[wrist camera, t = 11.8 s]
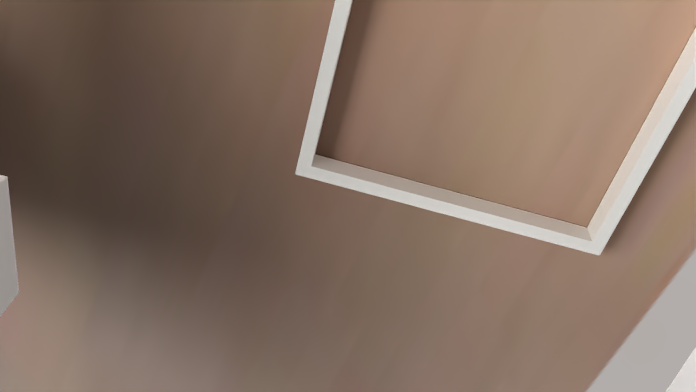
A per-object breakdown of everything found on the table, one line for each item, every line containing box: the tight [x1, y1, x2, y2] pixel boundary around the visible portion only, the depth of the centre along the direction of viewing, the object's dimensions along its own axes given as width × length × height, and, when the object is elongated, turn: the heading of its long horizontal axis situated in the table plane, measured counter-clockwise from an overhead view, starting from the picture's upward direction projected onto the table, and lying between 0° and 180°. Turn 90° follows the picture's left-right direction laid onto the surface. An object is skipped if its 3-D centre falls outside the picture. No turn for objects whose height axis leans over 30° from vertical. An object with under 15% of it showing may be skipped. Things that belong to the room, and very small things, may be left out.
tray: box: [295, 0, 696, 256], centre depth 34 cm, size 19×17×2 cm
